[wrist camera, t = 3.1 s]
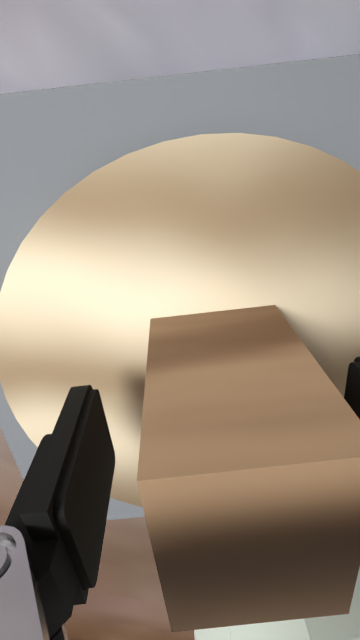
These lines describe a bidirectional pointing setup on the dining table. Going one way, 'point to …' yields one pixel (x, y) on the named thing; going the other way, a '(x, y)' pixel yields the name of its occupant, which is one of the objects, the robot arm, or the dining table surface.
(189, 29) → the dining table surface
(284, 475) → the lid
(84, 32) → the dining table surface
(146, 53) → the dining table surface
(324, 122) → the mat
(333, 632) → the bowl
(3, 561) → the robot arm
